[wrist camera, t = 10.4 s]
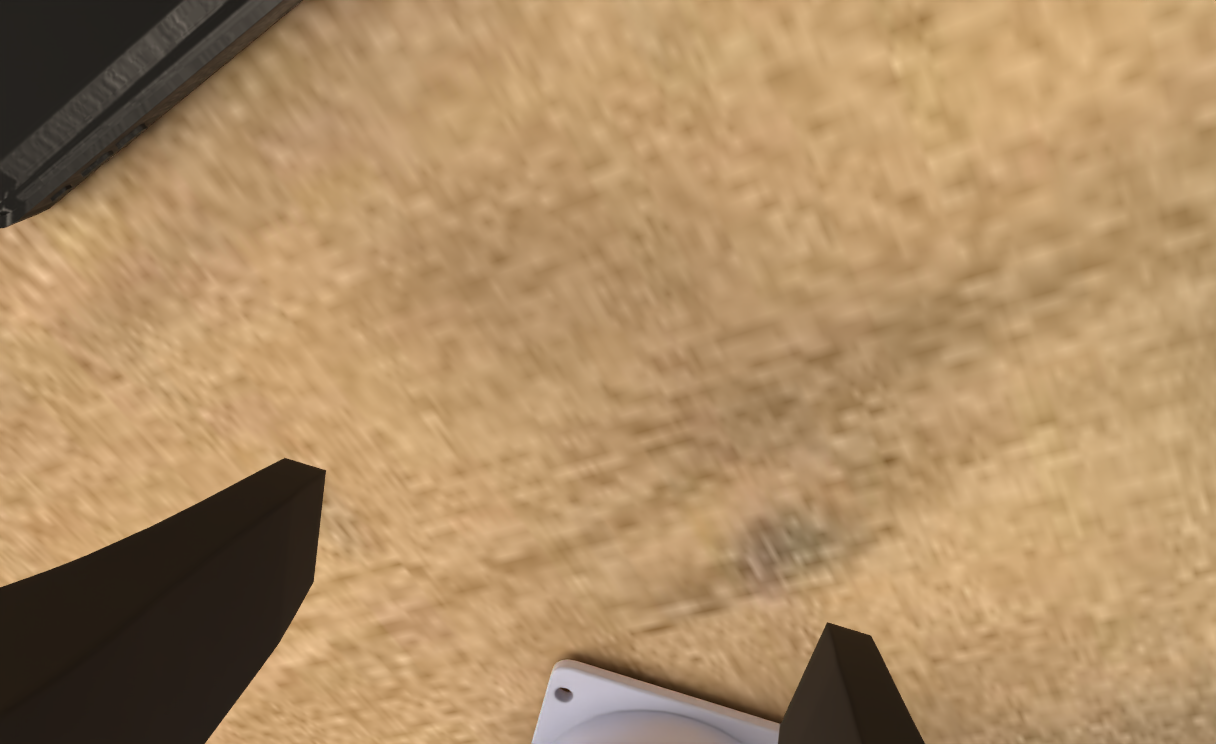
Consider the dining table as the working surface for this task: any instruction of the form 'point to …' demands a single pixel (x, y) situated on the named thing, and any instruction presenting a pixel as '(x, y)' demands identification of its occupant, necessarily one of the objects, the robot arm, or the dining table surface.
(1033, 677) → the dining table surface
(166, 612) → the robot arm
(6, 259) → the dining table surface
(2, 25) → the phone
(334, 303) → the dining table surface
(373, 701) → the dining table surface
